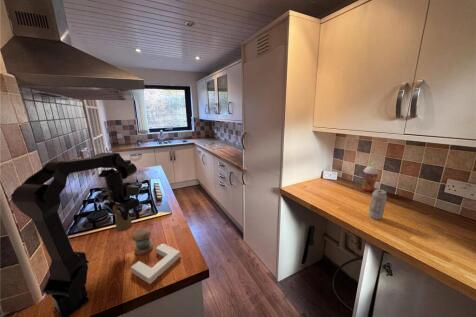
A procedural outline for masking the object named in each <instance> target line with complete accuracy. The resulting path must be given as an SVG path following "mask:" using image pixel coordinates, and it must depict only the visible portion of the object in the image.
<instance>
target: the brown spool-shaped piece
mask: <svg viewBox="0 0 476 317" xmlns="http://www.w3.org/2000/svg"><path fill="white" fill-rule="evenodd" d="M151 234H152V231H151V229H150V228H147V227H143V228H139V229H137V230H135V231H134V232H133V233H132V235H131V239H132V241H134V242H135V246H134V253H135V254H136V255H140V256H142V255H145V254H147V253H149V252H151V251H152V249H153V248H154V244H153V242H152V241H151V240H150V236H151Z"/></svg>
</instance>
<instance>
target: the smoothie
mask: <svg viewBox="0 0 476 317" xmlns="http://www.w3.org/2000/svg"><path fill="white" fill-rule="evenodd" d="M373 164H374V162H373V161H372V162H371V165H369V166H365V168H364V169H363V171H362V172H363V174H362V181H361V188H362V190H363V191H365V192H367V193H368V192H373V191H374V190H375V185H376V181H377V178H378V175H379V171H378V169H377V168H376V167H375V166H373Z"/></svg>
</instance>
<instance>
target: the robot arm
mask: <svg viewBox="0 0 476 317" xmlns="http://www.w3.org/2000/svg"><path fill="white" fill-rule="evenodd" d="M101 168H102V170H101V172H100V173H99V174H98V177H99V178H104V181H105V182H104V183H105V186H106V187H104V190H105V192H102V193H100V194H99V195H98V196H97V199H98V202H100V203H103V204H104V206H106V207H107V209H109V211H111V213H113V214H114V215H115V212H114V211H113V205H114V204H116V203H117V204H119V208H117V209H116V210H117V211H118V213H119V214H120V215H121V217H122V218H123V219H124V220H125V221H126V220H127V219H128V214H129V213H130V211H131V210H134V209H135V208H137V207H139V206H140V205H141V204H140V203H141V202H140V199H137V198H135V197H131V195H139V193H140V186H138V185H135V184H131V182H127V181H125V182H124V180H126V179H127V178H129V177H131V176H133V175H135V174H136V173H137V171H138V168H137V166H136V165H135V164H134V163H133V162H132V161H131V159H124V158H123V157H122V156H121V154H120V153H119V152H99V153H97V154H94V155H93V156H90V157H81V158H73V159H72V158H71V159H65V160H52V161H48V162H46V163H45V164H44V165H43V167H42V168H41V169H40V170H38V171H37V172H35V173H33V174H32V175H30V176H29V177H28V178H26V179H25V181H23V183H22V184H21V185H19V186H17V187H16V188H15V189H14V190H13V193H11V195H10V198H11V202H12V203H13V204H14V205H15V207H16V208H17V210H19V211H20V212H21V213H23V214H24V215H25V216H26V217H28V218H30V219H31V220H32V222H33V224H34V226H35V228H36V232H38V234H39V237H40V239H41V241H42V244H43V245H44V247H45V249H46V251H47V254H48V256H49V258H50V260H51V262H50V264H49V267H48V273H49V274H48V275H49V277H48V279H47V281H46V283H45V286H44V288H43V290H42V293H43V294H45V295H46V296H47V295H49V296H51V298H52V301H53V304H54V308H53V309H54V311H55V312H56V313H57V314H58V316H60V317H70V316H71V315H72V314H74V313H75V312H77V311H78V310H79V309H80V308H81V307H83V306H84V305H85V304H87V303H88V302H89V300H90V299H89V297H88V291H87V288H86V285H87V280H88V278H87V277H88V270H89V263H90V261H88V259H87V255H86V253H85V252H81V251H75V250H74V249H73V246H72V243H71V241H70V239H69V237H68V233H67V232H66V230H65V227H64V225H63V222H62V219H61V217H60V214H59V212H58V211H59V209H60V207H61V204H62V202H61V201H62V200H61V194H62V193H63V191H64V190H65V189H66V187H67V180H68V178H69V175H70V174H74V173H79V172H84V171H89V170H90V171H91V170H95V169H101ZM51 179H52V181H50V180H51ZM48 181H50V183H49V184H48V183H47V182H48ZM45 183H47V184H45ZM129 215H130V214H129Z"/></svg>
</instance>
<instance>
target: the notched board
mask: <svg viewBox="0 0 476 317" xmlns="http://www.w3.org/2000/svg"><path fill="white" fill-rule="evenodd" d="M155 251H156V254H157V255H159V256H162V257H163V258H162V259H160V260H159V261H157V263H156V264H154V266H152V267H151V266H149V265H147V264H145V263H144V262H142V261H140V260H138V261H137V262H136V263H134V264H133V265H131V266H130V270H131V271H130V272H131V273H132V274H133V275H135V276H137V277H139V279H141V280H143V281H144V282H146V283H147V284H149V285H151V284H152V283H153V282H154V281H156V279H157V277H158V276H159V277H160V276H161V275H162V274H163V273H165V271H166V270H168V268H169V267H171V266H172V265H173V264H174V263H175V262H176V261H177V260H179V259H180V258H181V250H178V249H175V248H174V247H171V246H169V245H168V244H165V243H164V242H163V243H161V244H159V245H158V246H156V247H155ZM159 277H158V278H159Z"/></svg>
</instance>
